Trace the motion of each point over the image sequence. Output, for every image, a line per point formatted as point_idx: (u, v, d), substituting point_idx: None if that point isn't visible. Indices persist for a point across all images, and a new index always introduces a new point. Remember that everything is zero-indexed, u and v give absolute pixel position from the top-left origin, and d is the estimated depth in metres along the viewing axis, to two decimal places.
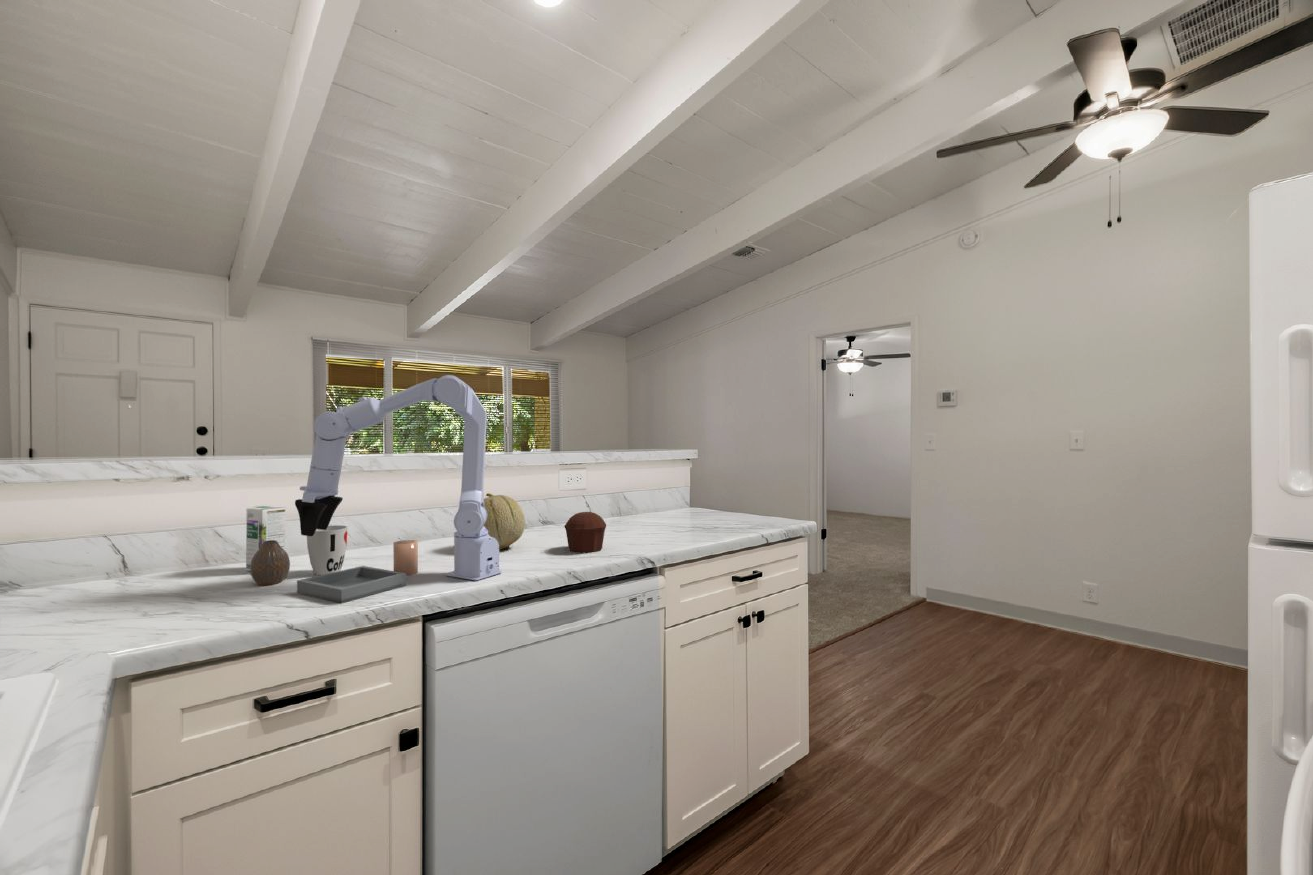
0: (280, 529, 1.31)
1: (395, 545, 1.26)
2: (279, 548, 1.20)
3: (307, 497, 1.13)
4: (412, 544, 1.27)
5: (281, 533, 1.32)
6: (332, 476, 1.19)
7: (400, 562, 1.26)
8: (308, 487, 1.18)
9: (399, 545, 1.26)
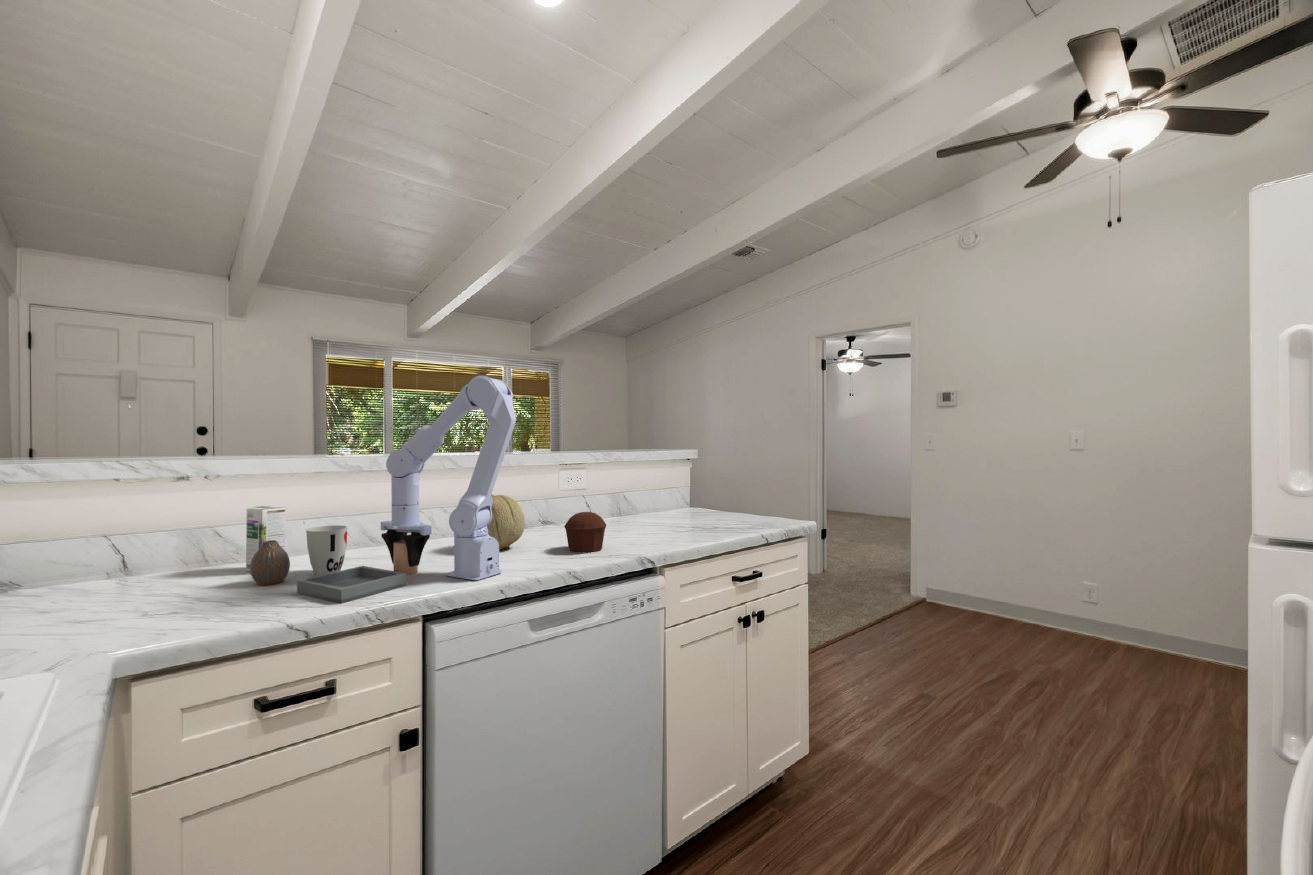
0: (280, 529, 1.31)
1: (395, 545, 1.26)
2: (279, 548, 1.20)
3: (427, 530, 1.25)
4: None
5: (281, 533, 1.32)
6: None
7: (400, 562, 1.26)
8: (404, 524, 1.26)
9: (399, 545, 1.26)
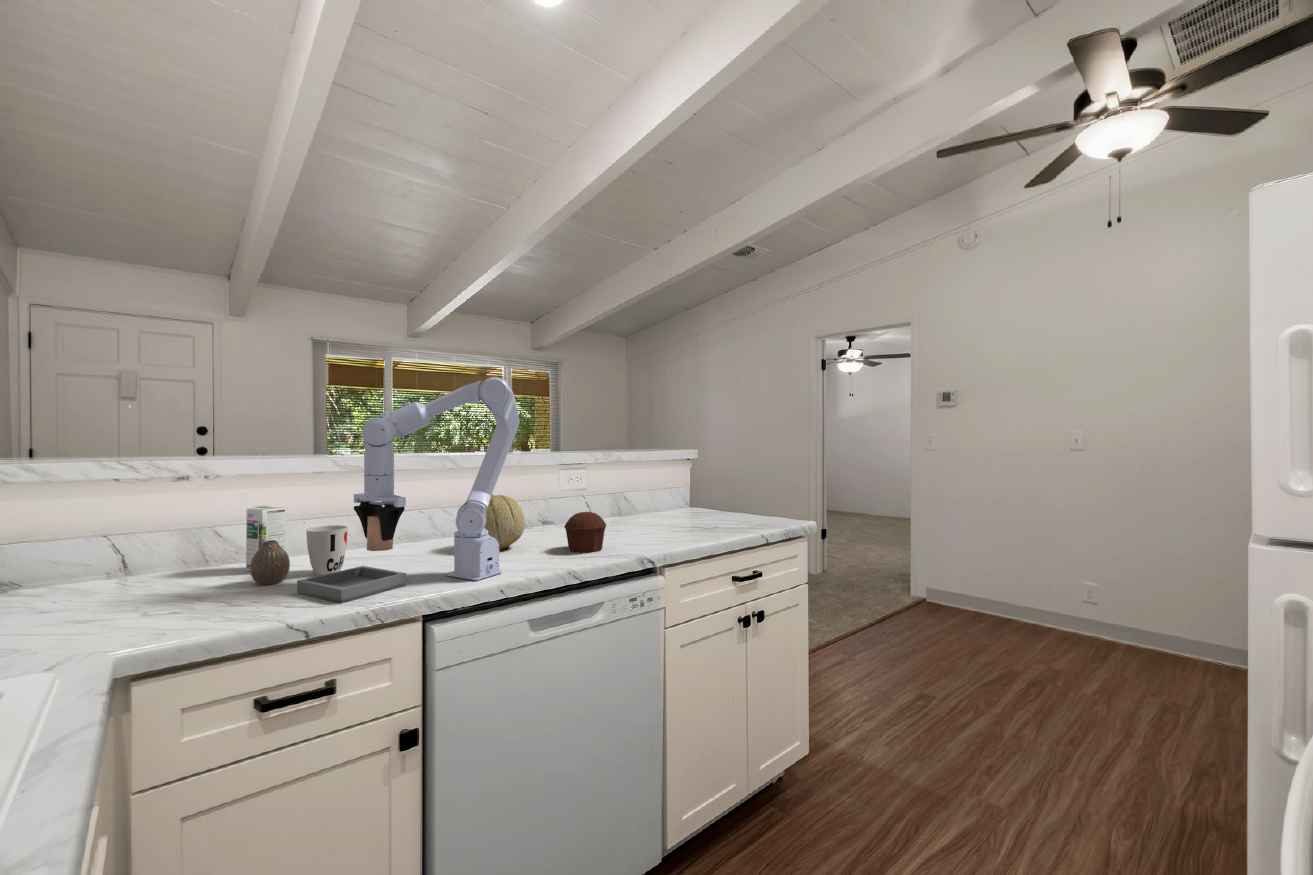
0: (280, 529, 1.31)
1: (369, 518, 1.20)
2: (279, 548, 1.20)
3: (401, 502, 1.18)
4: None
5: (281, 533, 1.32)
6: (393, 480, 1.22)
7: (374, 536, 1.19)
8: (377, 495, 1.19)
9: (373, 518, 1.19)
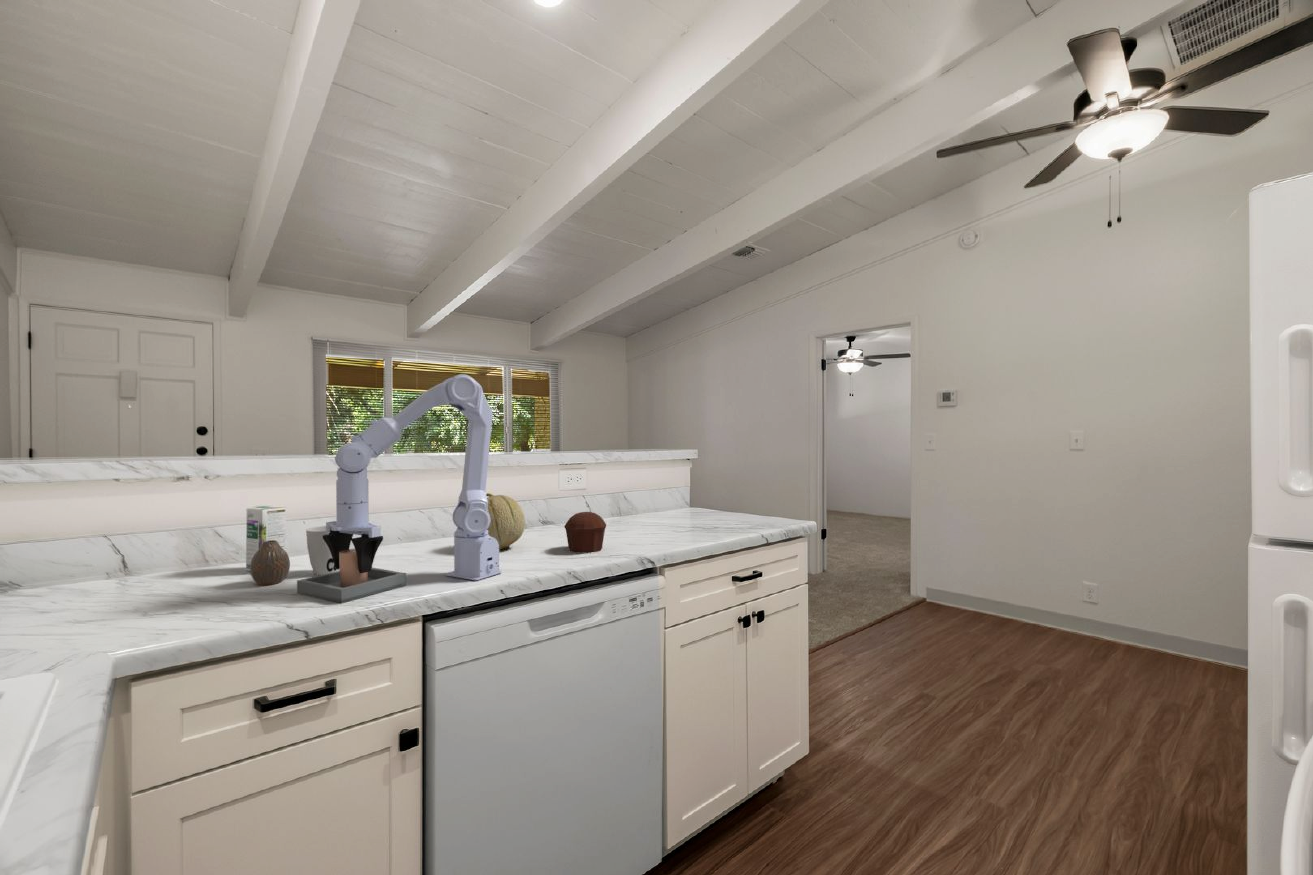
0: (280, 529, 1.31)
1: (341, 555, 1.13)
2: (279, 548, 1.20)
3: (376, 532, 1.11)
4: None
5: (281, 533, 1.32)
6: (368, 507, 1.16)
7: (347, 574, 1.13)
8: (350, 525, 1.12)
9: (345, 555, 1.12)
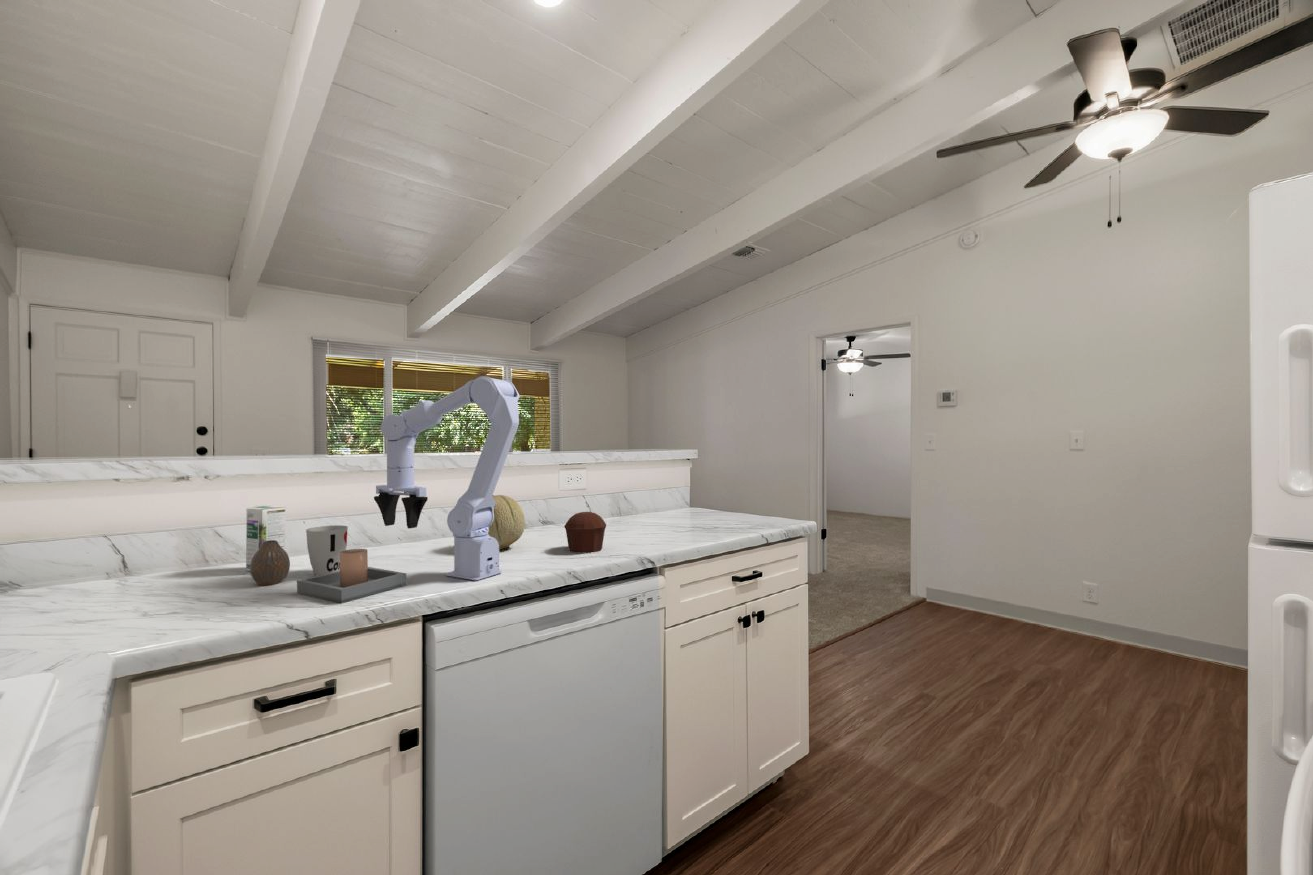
0: (280, 529, 1.31)
1: (341, 555, 1.13)
2: (279, 548, 1.20)
3: (422, 492, 1.28)
4: (361, 553, 1.14)
5: (281, 533, 1.32)
6: (413, 472, 1.32)
7: (347, 573, 1.13)
8: (399, 486, 1.29)
9: (346, 555, 1.13)
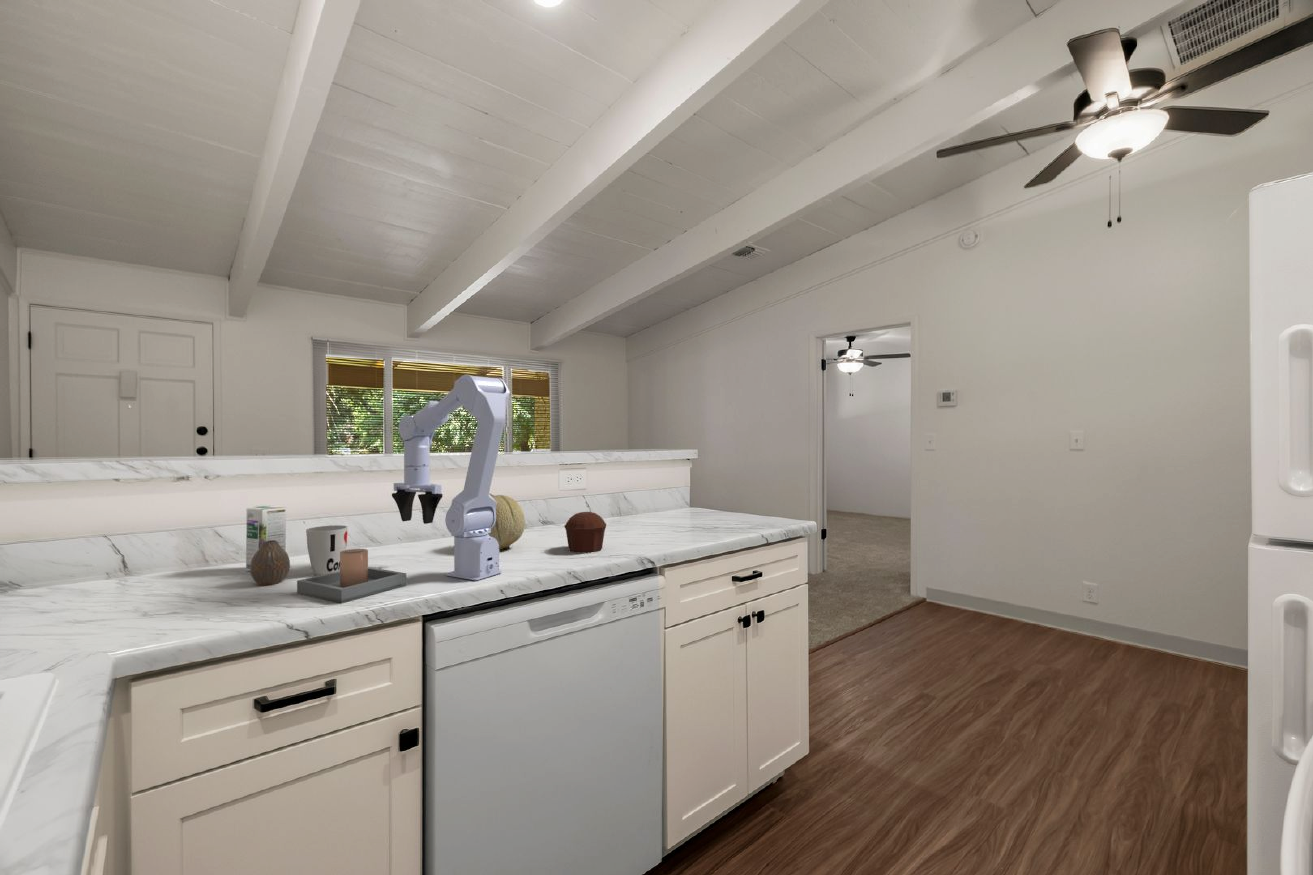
0: (280, 529, 1.31)
1: (342, 555, 1.13)
2: (279, 548, 1.20)
3: (438, 489, 1.35)
4: (361, 554, 1.14)
5: (281, 533, 1.32)
6: (429, 470, 1.39)
7: (347, 574, 1.13)
8: (416, 483, 1.35)
9: (346, 555, 1.13)
